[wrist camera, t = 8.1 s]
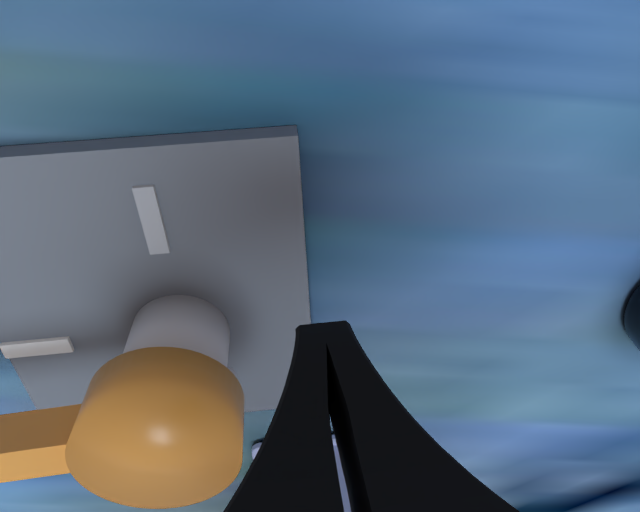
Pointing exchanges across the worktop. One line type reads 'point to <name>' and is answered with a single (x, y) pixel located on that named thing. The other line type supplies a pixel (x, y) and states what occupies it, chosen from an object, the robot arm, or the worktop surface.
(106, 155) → the plate
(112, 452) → the crank handle
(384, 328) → the worktop surface
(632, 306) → the supplement bottle
